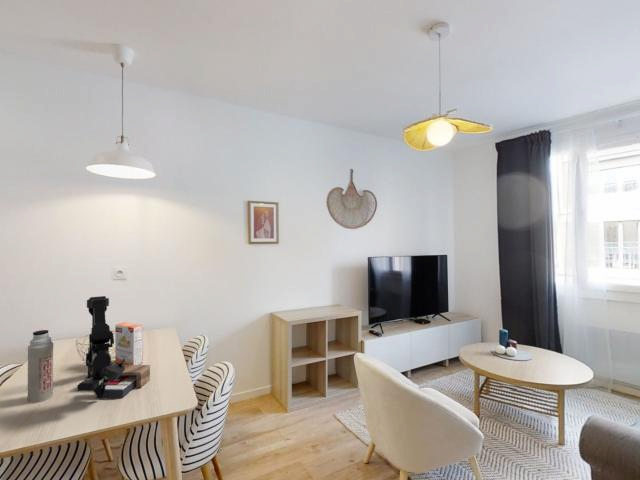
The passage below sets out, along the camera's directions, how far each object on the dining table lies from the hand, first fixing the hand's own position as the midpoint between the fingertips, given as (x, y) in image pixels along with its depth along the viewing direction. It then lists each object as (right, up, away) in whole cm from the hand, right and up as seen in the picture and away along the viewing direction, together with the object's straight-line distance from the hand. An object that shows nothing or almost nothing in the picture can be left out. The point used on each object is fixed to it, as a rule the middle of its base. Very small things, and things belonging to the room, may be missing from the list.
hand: (100, 397), depth 129 cm
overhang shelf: (-1, -1, +15) cm, 15 cm away
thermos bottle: (-26, -1, +2) cm, 26 cm away
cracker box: (-12, -1, +38) cm, 40 cm away
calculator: (+2, -2, +10) cm, 10 cm away
